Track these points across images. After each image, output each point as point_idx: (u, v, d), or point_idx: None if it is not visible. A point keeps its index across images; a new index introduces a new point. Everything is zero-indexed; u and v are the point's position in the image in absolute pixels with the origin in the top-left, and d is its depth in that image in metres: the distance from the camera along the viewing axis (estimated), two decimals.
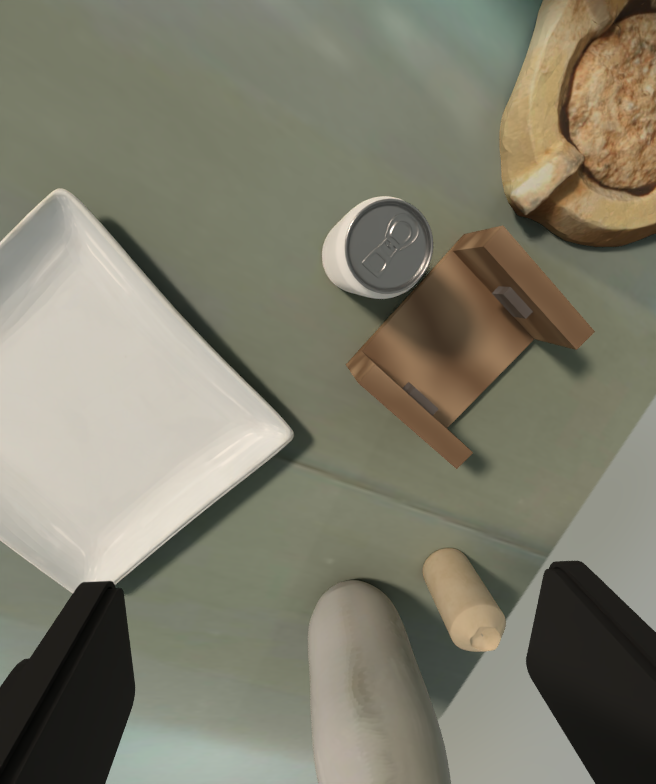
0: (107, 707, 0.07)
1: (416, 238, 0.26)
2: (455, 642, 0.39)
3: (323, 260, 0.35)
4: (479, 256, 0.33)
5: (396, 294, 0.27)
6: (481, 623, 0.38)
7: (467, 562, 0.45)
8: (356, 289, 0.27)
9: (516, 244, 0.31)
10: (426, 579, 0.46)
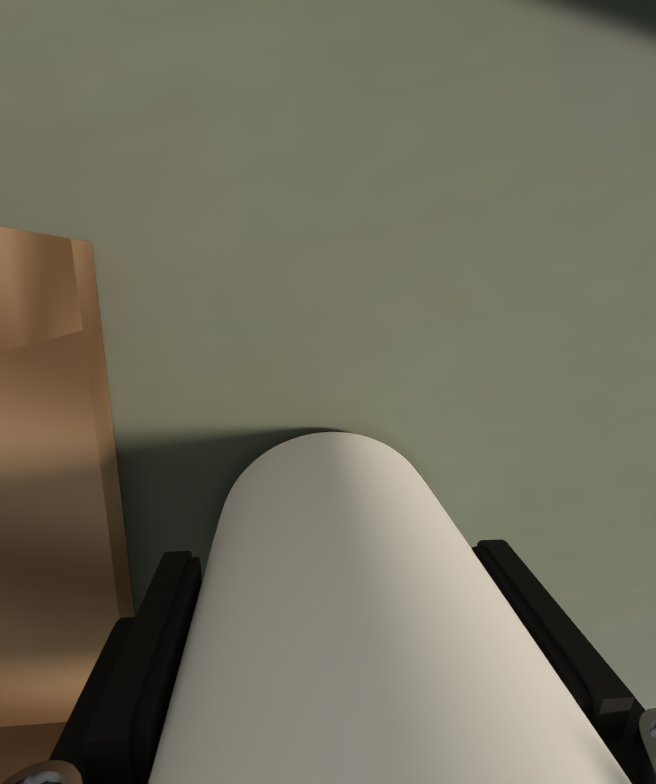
0: None
1: None
2: None
3: (418, 478, 0.11)
4: None
5: None
6: None
7: None
8: None
9: None
10: None
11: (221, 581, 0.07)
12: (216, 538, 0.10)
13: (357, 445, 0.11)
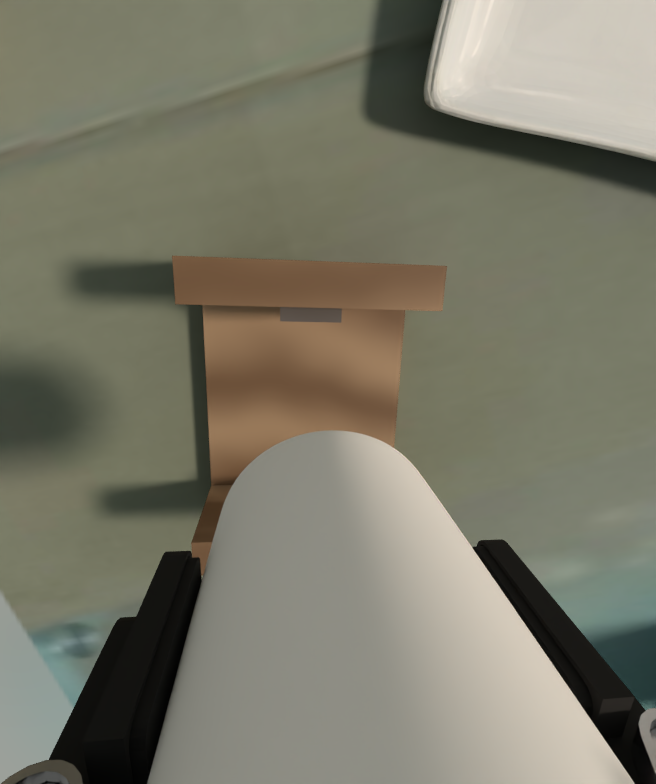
0: None
1: None
2: None
3: (418, 476, 0.10)
4: None
5: None
6: None
7: None
8: None
9: None
10: None
11: (220, 579, 0.07)
12: (216, 536, 0.09)
13: (357, 443, 0.11)
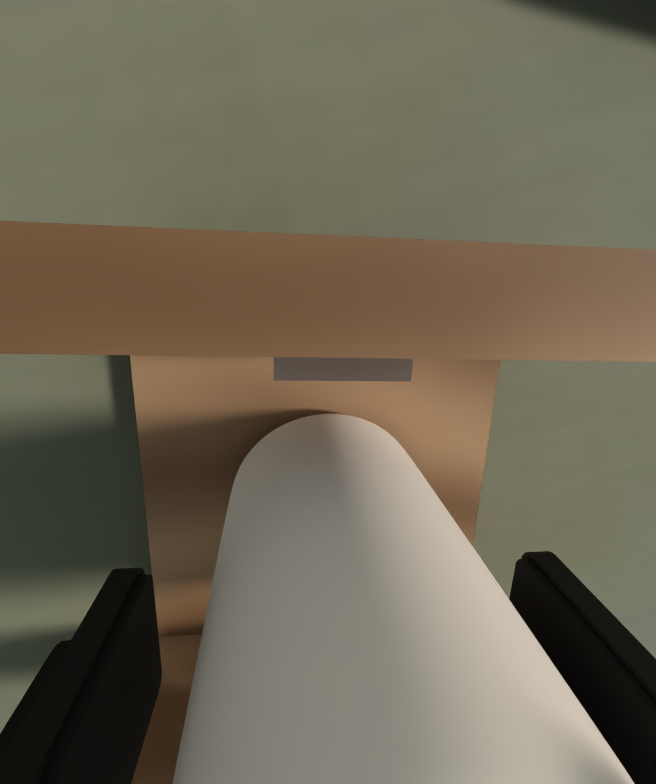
0: (140, 687, 0.08)
1: None
2: None
3: (404, 453, 0.12)
4: None
5: None
6: None
7: None
8: None
9: None
10: None
11: (242, 530, 0.09)
12: (232, 502, 0.11)
13: (352, 425, 0.12)
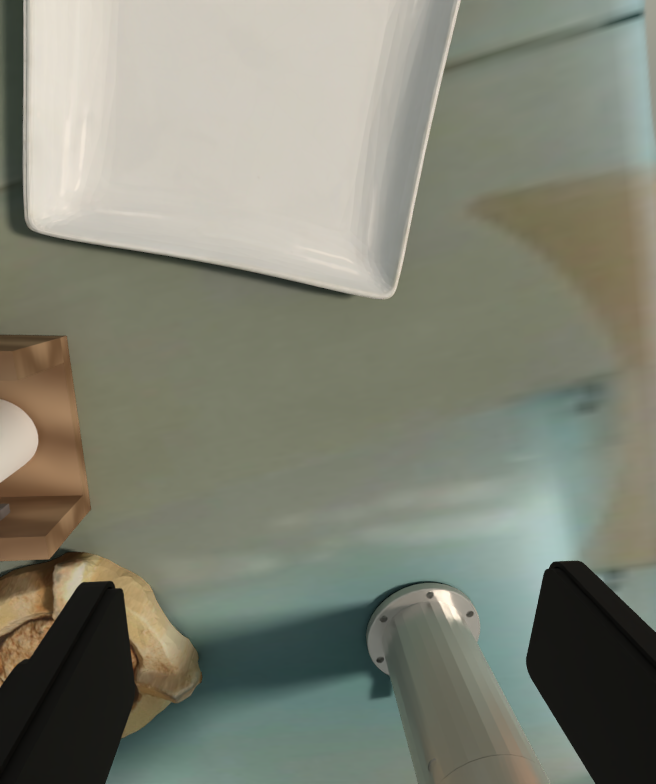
0: (107, 707, 0.07)
1: None
2: None
3: (6, 412, 0.32)
4: (47, 520, 0.33)
5: None
6: None
7: None
8: None
9: (23, 558, 0.31)
10: None
11: None
12: None
13: None
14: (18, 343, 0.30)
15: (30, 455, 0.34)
